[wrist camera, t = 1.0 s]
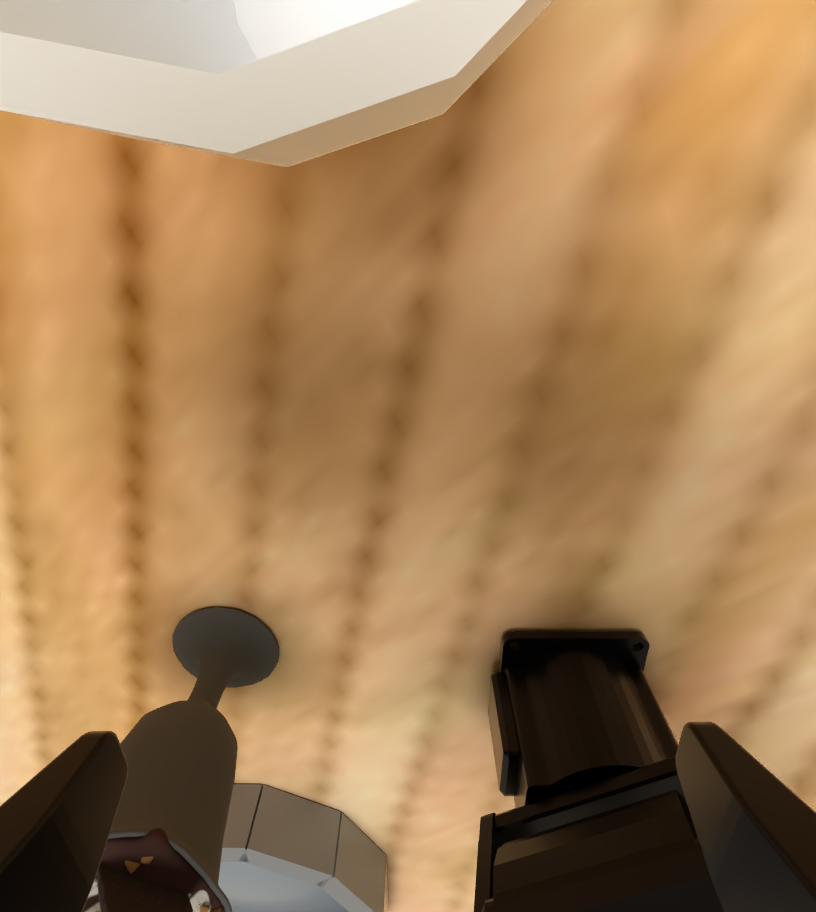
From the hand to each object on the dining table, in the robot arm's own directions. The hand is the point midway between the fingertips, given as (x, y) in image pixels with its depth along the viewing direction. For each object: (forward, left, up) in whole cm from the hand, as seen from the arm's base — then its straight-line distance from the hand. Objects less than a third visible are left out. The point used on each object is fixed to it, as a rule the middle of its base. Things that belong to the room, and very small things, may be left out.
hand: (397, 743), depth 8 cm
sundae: (+9, +11, -13) cm, 19 cm away
